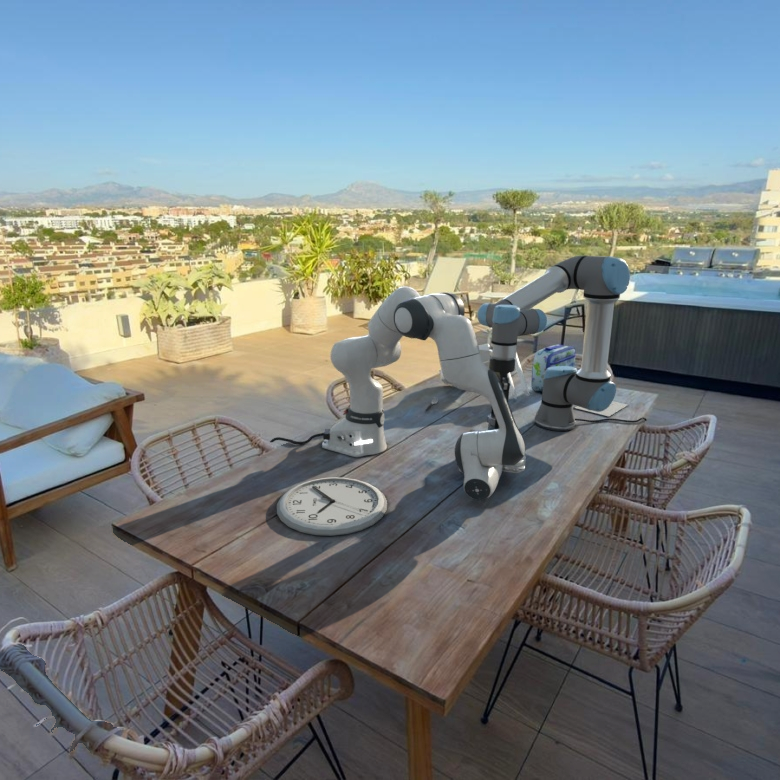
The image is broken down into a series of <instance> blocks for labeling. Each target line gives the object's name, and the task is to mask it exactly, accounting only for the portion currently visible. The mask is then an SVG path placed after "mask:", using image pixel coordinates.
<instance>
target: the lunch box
mask: <svg viewBox="0 0 780 780" xmlns="http://www.w3.org/2000/svg"><path fill="white" fill-rule="evenodd" d="M576 357H577V355H576V347H575V346H569V345H565V344H554V345H550V346H547V347H544V348H542V349H541V348H540V349H539V350H537V351H536V352H535V353H534V356H533V360H532V367H531V368H532V369H531V382H530V383H531V386H530V387H531V389H532V390H533V391H537V392H542V391H543V381H544V379H543V378H544V375H545V371H546V369H547V368H549V367H555V366H571V367H575V364H576Z"/></svg>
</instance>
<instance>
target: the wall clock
mask: <svg viewBox="0 0 780 780" xmlns="http://www.w3.org/2000/svg"><path fill="white" fill-rule="evenodd" d="M387 509H388V500H387V498H386V496H385V494H384V493H383V492H382V491H381V490H380V489H379V488H377V487H376V486H374V485H372V484H371V483H369V482H365V481H362V480H359V479H355V478H349V477H338V476H337V477H335V476H333V477H332V476H331V477H322V478H317V479H312V480H307V481H305V482H302V483H299V484H297V485H295V486H293V487H292V488H290V489H288V490H287V491H286V492H285V493H284V494H283V495H281V496H280V498H279V499H278V502H277V503H276V515H277V517H278V518H279V520H280V521H281V522H282V523H283V524H285V525H286V526H287V527H288V528H290V529H293V530H295V531H297V532H299V533H303V534H308V535H312V536H327V537H328V536H329V537H331V536H332V537H333V536H342V535H350V534H352V533H356V532H361V531H363V530H366V529H368V528H369V527H372V526H373V525H375V524H376V523H378V522H379V521H380V520H381V519H382V518H383V517H384V516H385V514H386V512H387Z"/></svg>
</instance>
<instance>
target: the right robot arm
mask: <svg viewBox="0 0 780 780" xmlns="http://www.w3.org/2000/svg"><path fill="white" fill-rule="evenodd" d="M630 278H631V273H630V268H629V265H628V264H627V262H626V260H624V259H623V258H621V257H616V256H607V255H605V256H603V255H587V254H586V255H584V254H582V255H581V254H580V255H575V256H571V257H569V258H567V259H564V260H561V261H559V262H558V263H555V264H554V265H552V266H550V267H548V269H546V271H545V273H544V274H543V275H541V276H539V277H537V278H536V279H534V280H532V281H531V282H529V283H528V284H526V285H524V286H522V287H521V288H519V289H517V290H515V291H514V292H512V293H510V294H509V295H507V296H506V297H504V298H502V299H500V300H499V301H497V302H495V303H492V302H484V303H483V304H481V305H480V307H479V308H478V310H477V321H478V323H479V324H480V325H481V326H484V327H488V328H489V329H490V328H491V339H490V347H489V349H490V350H491V352H490V355H491V356H492V357H491V358H490V363H489V369H490V370H492V371H494V372H495V373H496V375H497V376H498V378H499V380H500V383H501V385H502V388H503V390H504V393H505V395H506V398H507V401H508V402H509V396H510V390H509V388H510V383H509V378H508V377H507V374H508V373H509V372H510V373H513V372H515V369H516V366H515V359H514V358H515V357H516V352H517V349H518V337H522V336H528V335H535V334H539V333H541V332H543V331H544V330H545V329H546V327H547V324H548V318H547V315H546V313H545V312H544V311H543V310H542V309H540V308H534V307H535V306H537V305H539V304H540V303H542V302H544V301H545V300H546V299H549V298H550V297H552V296H553V295H555V294H557V293H558V294H561V293H564V292H565V291H567V290H568V291H569V290H580V291H583V295H582V297H583V298H584V300H585V301H586V302H587V303H586V311H585V312H586V315H585V324H584V333H583V334H584V335H583V345H582V355H581V363H580V368H579V369H578V368H577V367H576V366H574V367H571V366H555V367H549V368H547V369H546V371H545V375H544V378H543V379H544V381H543V391H541V393H542V394H541V402H540V405H539V407H538V410H537V411H536V413H535V416H534V424H535V425H536V426H537V427H539V428H542V429H544V430H549V431H556V432H567V431H572V430H574V429H575V428H576V421H577V422H586V423H587V422H588V423H599V422H606V421H615V422H622V423H638V422H641V421H642V420H644V421H648V419H647V418H646V417H644V416H642V417H640V418H638V419H636V420H635V419H634V420H628V419H620V418H602V419H594V420H593V419H585V418H584V419H583V418H575V417H576V416H575V413H574V407H573V406H575V407H576V406H579V407H582V408H585V409H588V410H593V411H596V412H601V411H604V410H605V409H607V408H608V407H609V405H610V404H611V403H612V401H614V400H615V398H616V397H615V396H616V394H617V386H616V384H615V383H614V382H613V381H611V375H612V374H611V373H610V372H609V370H608V363H609V354H610V345H611V337H612V335H611V334H612V327H613V319H614V308H615V303H616V302H617V301H618V300H620V299H621V295H622V294H624V293H625V292H626V291H627V289H628V287H629V285H630V281H631V279H630ZM490 408H491V409H490V414H493V413H494V411H493V408H492V406H491V407H490ZM495 429H499V425H498V422H497V419H496V418H495Z"/></svg>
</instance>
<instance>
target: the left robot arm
mask: <svg viewBox="0 0 780 780" xmlns="http://www.w3.org/2000/svg"><path fill="white" fill-rule="evenodd" d="M465 312H466V311H465V304H464V303H463V300H462V299H461V297H460V296H459V295H457V294H455V293H451V292H439V293H429V294H425V295H420V293H419V292H418V291H417V290H416V289H414V288H413V287H410V286H400V287H398V288H396V289H395V290H393V292H391V293H390V294H389V295H388V296H387V297H386V298H385V299H384V301H383V302H382V303H381V304H380V305H379V306H378V308H377V309H376V311H375V312H374V314H373V315H372V316H371V317H370V319H369V320H368V323H367V330H368V334H366V335H362V336H354V337H348V338H344V339H342V340H340V341H337V342H335V343H333V345H332V347H331V350H330V356H329V357H330V361H331V364H332V366H333V367H334V369H336V371H337V372H339V373H341V374H342V375H343V376H344V378H345V380H346V382H347V385H348V389H349V405H348V407H346V408H345V410H343V415H345V416H344V417H343V418H341V419H340V420H339V421H337V422H336V423H334V424H333V425H332V426H331V428H325V429H324V431H323V432H319V433H316V434H313V435H311V436H309V438H308V439H306V440H304V441H299V440H298V441H297V440H293V439H290V438H285V437H281V436H276V437H273V438H272V439H271V440H270V441H269V443H274V442H275V441H282V442H287V443H291V444H293V445H307V444H308V443H310V442H311V441H312V440H313V439H315V438H319V437H323V438H322V439H323V441H322V443H321V448H322V449H325V450H328V451H332V452H336V453H338V454H343V455H345V456H348V457H349V456H350V457H353V458H361V457H364V456H372V455H377V454H381V453H382V452H384V451H386V450H387V448H388V445H387V444H388V443H387V441H386V437H385V429H384V424H385V408H384V387H383V386H382V384H381V383H380V382H379V381H378V380H376V379H374V378H373V377H372V374H371V370H372V369H378V368H383V367H386V366H389V365H392V364H393V363H396V362H397V361H398V360H399V359H400V357H401V355H402V345H401V342H400V340H401V339H402V338H403V337H406V338H410V339H416V340H421V341H427V339H428V338H430V339H432V341H434V343H435V345H436V348H437V353H438V360H439V366H440V370H442V374H443V376H444V378H445V380H446V381H447V382H448V383H449V384H450V386H452V387H454V388H456V389H459V390H463V391H467V392H471V393H474V394H478V395H480V396H482V397H484V398H485V399H486V400H487V401H488V402H489V403H490V406H491V407H492V408H493V411H494V414H495V417H496V419H497V422H498V425H499V429H495V430H488V429H486V430H475V431H474V430H473V431H466V432H465V431H464V432H462V433H461V434H460V435H459V437H458V438H457V441H456V443H455V445H454V446H455V447H454V457H455V462H456V466H457V467H458V471H459V472H460V473H462V474H463V491H464V492H465V494H466V495H467V497H469V498H471V499H473V500H474V501H475V500H476V501H484V500H487V499H489V498H490V497H491V496H492V495H493V493H494V492H495V490H496V488H497V486H498V484H499V480H500V478H501V476H502V473H503V472H506V473H512V474H519V473H521V472H524V471H525V469H526V463H527V462H526V461H527V455H526V445H525V441H524V438H523V436H522V434H521V432H520V429H519V427H518V425H517V423H516V421H515V418H514V415H513V411H512V409H511V406H510V403H509V400H508V401H507V398H506V395H505V393H504V390H503V388H502V385H501V383H500V380H499V378H498V376H497V375H496V373H495V372H494V371H492V370H489V369H488V368H487V367H486V366H485V364H484V363H483V361H482V359H481V356H480V353H479V352H480V351H479V346H478V345H479V343H478V340H477V339H478V338H477V335H476V332H475V329H474V326H473V323H472V322H471V320H470V319H469V317H467V316H465V314H466V313H465Z"/></svg>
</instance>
